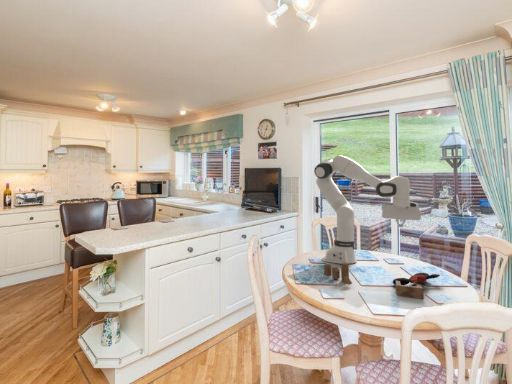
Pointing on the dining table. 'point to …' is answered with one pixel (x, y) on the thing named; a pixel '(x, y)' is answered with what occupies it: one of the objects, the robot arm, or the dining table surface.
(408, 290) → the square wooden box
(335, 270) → the wooden block set
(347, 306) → the dining table surface
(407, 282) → the toy motorcycle
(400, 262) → the dining table surface
